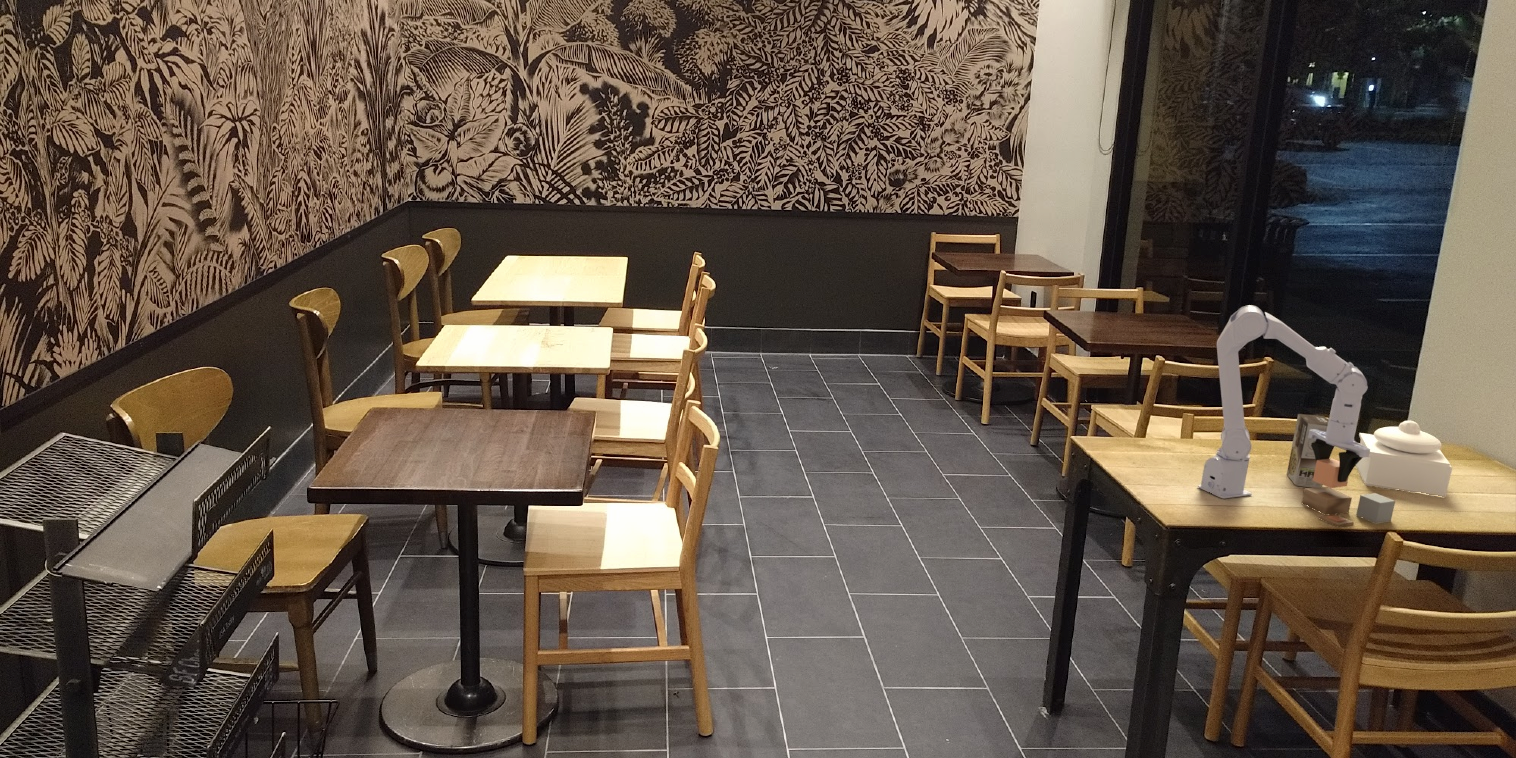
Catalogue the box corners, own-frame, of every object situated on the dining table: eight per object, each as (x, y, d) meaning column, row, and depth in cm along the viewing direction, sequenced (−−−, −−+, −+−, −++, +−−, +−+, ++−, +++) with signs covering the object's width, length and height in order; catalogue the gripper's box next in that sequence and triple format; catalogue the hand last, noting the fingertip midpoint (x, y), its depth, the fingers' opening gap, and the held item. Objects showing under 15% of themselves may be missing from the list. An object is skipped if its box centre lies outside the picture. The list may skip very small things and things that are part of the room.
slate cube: (1375, 523, 250) (1380, 503, 249) (1356, 515, 255) (1360, 495, 253) (1390, 521, 252) (1395, 500, 251) (1370, 513, 257) (1375, 493, 256)
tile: (1337, 527, 247) (1338, 523, 247) (1318, 518, 251) (1319, 515, 251) (1353, 524, 249) (1354, 521, 249) (1334, 516, 253) (1334, 512, 253)
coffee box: (1323, 489, 271) (1336, 426, 267) (1294, 485, 272) (1307, 422, 268) (1312, 477, 280) (1325, 415, 275) (1285, 473, 281) (1297, 412, 276)
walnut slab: (1324, 515, 254) (1328, 499, 253) (1301, 504, 260) (1304, 488, 259) (1348, 513, 256) (1351, 497, 255) (1324, 502, 262) (1327, 486, 261)
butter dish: (1444, 499, 270) (1459, 436, 266) (1362, 485, 276) (1375, 424, 272) (1430, 477, 286) (1444, 417, 282) (1352, 464, 292) (1365, 406, 288)
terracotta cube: (1331, 488, 253) (1335, 467, 252) (1312, 480, 258) (1316, 460, 256) (1346, 486, 255) (1350, 465, 254) (1327, 478, 260) (1332, 458, 258)
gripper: (1383, 429, 248) (1371, 486, 251) (1327, 410, 261) (1316, 465, 264) (1362, 431, 245) (1349, 489, 249) (1306, 412, 258) (1295, 467, 261)
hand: (1331, 477), depth 256 cm, fingers closed on terracotta cube, 5 cm apart
